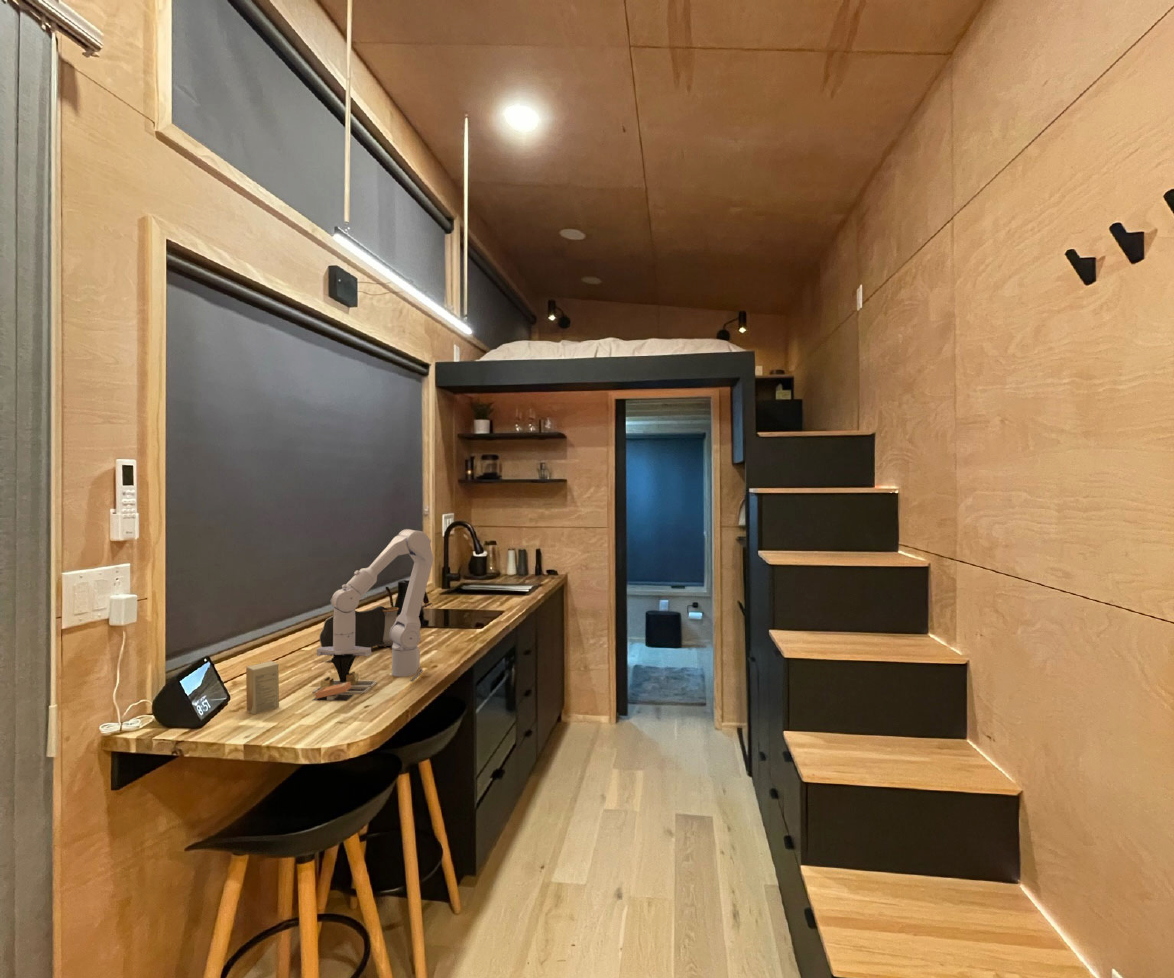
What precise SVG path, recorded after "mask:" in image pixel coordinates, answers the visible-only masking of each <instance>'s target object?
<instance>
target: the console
mask: <svg viewBox="0 0 1174 978" xmlns="http://www.w3.org/2000/svg"><path fill="white" fill-rule="evenodd" d="M342 683H346V682H340V679H333V685H338V684H342ZM376 684H377V685H376ZM375 685H376V686H379V687H381V684H378V681H376V680H369V679H368V680H367V679H366V680H365V679H363V680H362V679H361V680H359V679H358V684H357V685H351V688H350V689H349V690H347V691H346V692H343V693H338V694H334V695H330V696H326V697H322V698H317V699H316V697H315V696H314V698H313V699H312V701H322V702H323V701H325V702H326V701H330V702H331V701H333V702H336V701H337V702H339V701H341V702H347V701H349V700H350V699H351V698H352V697H354V695H363V694H367V692H369V691H370V692H371V693H372V692H374V690H371V688H373V687H374V686H375ZM320 687H321V685H320V686H318V687H316V688H315V689H313V690H312V694H315V693H316V692H317V691H318V690H320Z"/></svg>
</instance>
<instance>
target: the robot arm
mask: <svg viewBox="0 0 1174 978" xmlns="http://www.w3.org/2000/svg"><path fill="white" fill-rule="evenodd" d="M431 542H432V540H431V539H430V537H429V536H428V534H426V532H425V531H421V530H414V529H412V528H411V529H410V528H404V529H403V530H401V531H400V532H399V533H398V534H397V535H396V536H394V537H393V538H392V540H391V541H390V542H389V543H388V545H387V546H386V547H385V548H384V549H383V550H382V551H381V553H380V554H379V555H378V556H377V557H376V558H375V559H374V560H373V561H372V563H371V564H370V565H369V566H368V567H365V568H360V569H359V570H355V571H353V572H354V573H353V576H352V577H351V578H350V580H348V582H347V583H346V584H345V583H344V584H342V585H341V589H337V590H336V591H335V592H334V593H333V595H332V597H331V599H330V604H331V606H332V607H333V615H334V617H333V646H332V647H321V646H320V647H317V648H316V656H317V657H320V656H330V655H332V656H333V657H332V658H331V662H332V664H333V665H334V667H335V670H336V671H337V675H338V680H340V682H346V675H347V674H349V673H350V672H351V668H352V665H353V663H354V661H355V659H356V658H357V656H361V657H362V656H363V657H370V656H371V655H372V649H371V648H367V647H359V646H355V611H356V608H358V606H359V603H360V599H362V598H363V597H364V595H365V594H366V593H367V592H368V591H369V590H370V589H372V587H373V586H374V585H375V584H376V583H377V581H378V575H379V574H380V573H381V572H382V571H383V570H384V569H385V568H386V567H387V566H389V565H390V563H392V562H393V561H394V560H395V559H396V558H397V557H399V556H403V555H409V556H410V558H411V559H412V561H413V566H412V571H411V574H410V577H409V581H408V586H407V589H406V593H405V597H404V600H403V604H402V608H401V612H400V614H398V615H397V616H398V617H397V618H396V621H395V624H394V625H393V626H392V627H391V629H390V632H389V636H390V639H391V640H392V641H393V645H392V646H391V675H392V676H394V677H399V678H401V677H402V678H403V677H405V678H406V677H411V676H413V677H412V678H411V680H410V682H414V681H415V680H416V679H417V678H418V677H419V676H420V675H421V673H422V672H423V671H424V669H420V666H421V664H420V663H421V661H420V659H421V658H420V657H421V650H420V648H419V646H418V645H419V643H420V642H421V631H420V630H421V625H422V624H421V620H420V617H419V616H420V613H421V610H422V609H421V606H423V601H424V598H425V594H426V590H427V585H428V583H429V578H430V574H431V571H432V566H433V563H434V556H433V551H432V547H431ZM419 669H420V670H419ZM418 670H419V671H418ZM414 675H415V676H414ZM418 675H419V676H418Z"/></svg>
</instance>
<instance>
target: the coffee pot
mask: <svg viewBox="0 0 1174 978" xmlns="http://www.w3.org/2000/svg"><path fill="white" fill-rule="evenodd" d="M427 607H430V608H433V607H434V604H433V603H432V602H429V603H427V604H426V603H425V604H423V605H422V606H421V610H423V609H425V608H427ZM385 608H386V609H387V610H382V611H383V612H384V615H385V629H384V636H383V642H384V644H379V645H377V646H378V647H381V646H391V647H392V645H393V641H392V640H391V639H390V636H389V632H390V629H391V627H392V626H393V625H394V624H395V621H396V618H397V617H398V616H399V615H398V611H399V610H400V608H399V607H395V606H389V607H388V606H387V607H385Z"/></svg>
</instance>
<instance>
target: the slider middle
mask: <svg viewBox="0 0 1174 978" xmlns="http://www.w3.org/2000/svg"><path fill="white" fill-rule="evenodd" d="M333 680H334V678H333V677H330V676H326V677H324V678H322V679H321V680H320V686H321V687H320V689H321V688H325V687H329V686H333Z"/></svg>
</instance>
